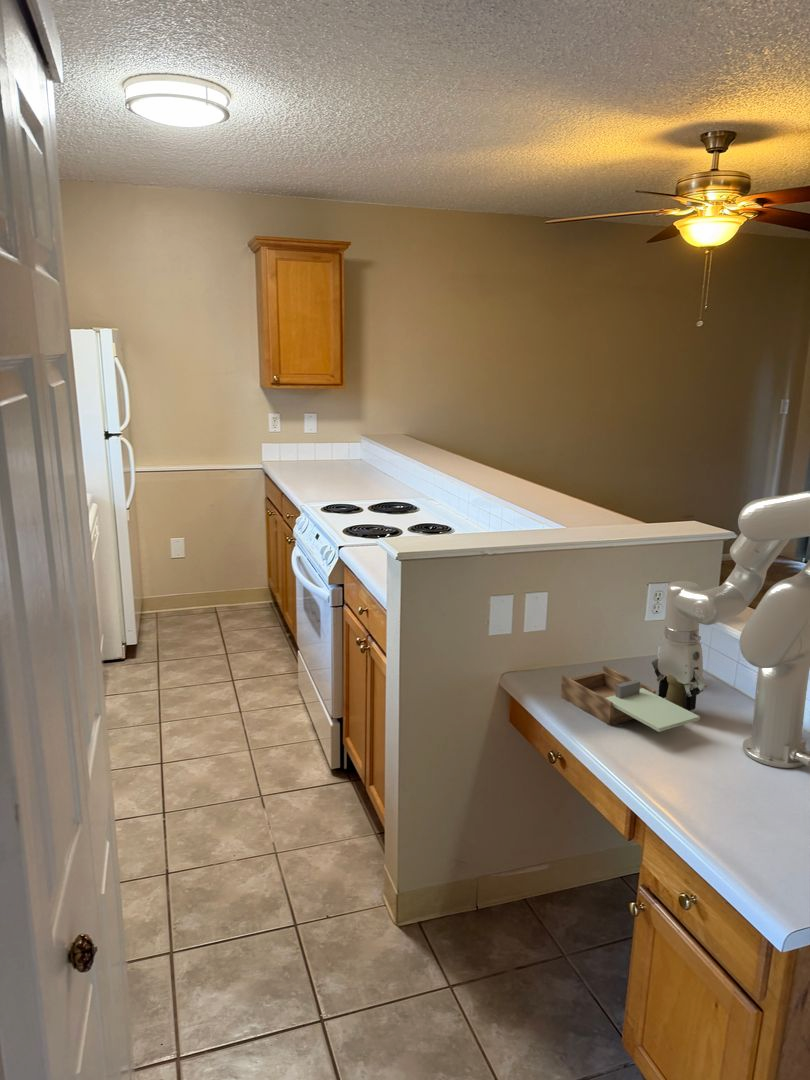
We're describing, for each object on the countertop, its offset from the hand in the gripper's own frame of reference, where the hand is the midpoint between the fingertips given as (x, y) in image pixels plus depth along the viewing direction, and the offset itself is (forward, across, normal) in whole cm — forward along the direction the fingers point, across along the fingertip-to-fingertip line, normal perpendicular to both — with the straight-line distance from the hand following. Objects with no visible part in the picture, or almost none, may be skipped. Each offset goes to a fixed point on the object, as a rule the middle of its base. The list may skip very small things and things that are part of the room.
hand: (676, 703), depth 181 cm
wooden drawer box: (+3, +12, +11) cm, 17 cm away
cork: (+3, 0, 0) cm, 3 cm away
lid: (-2, -3, +11) cm, 11 cm away
